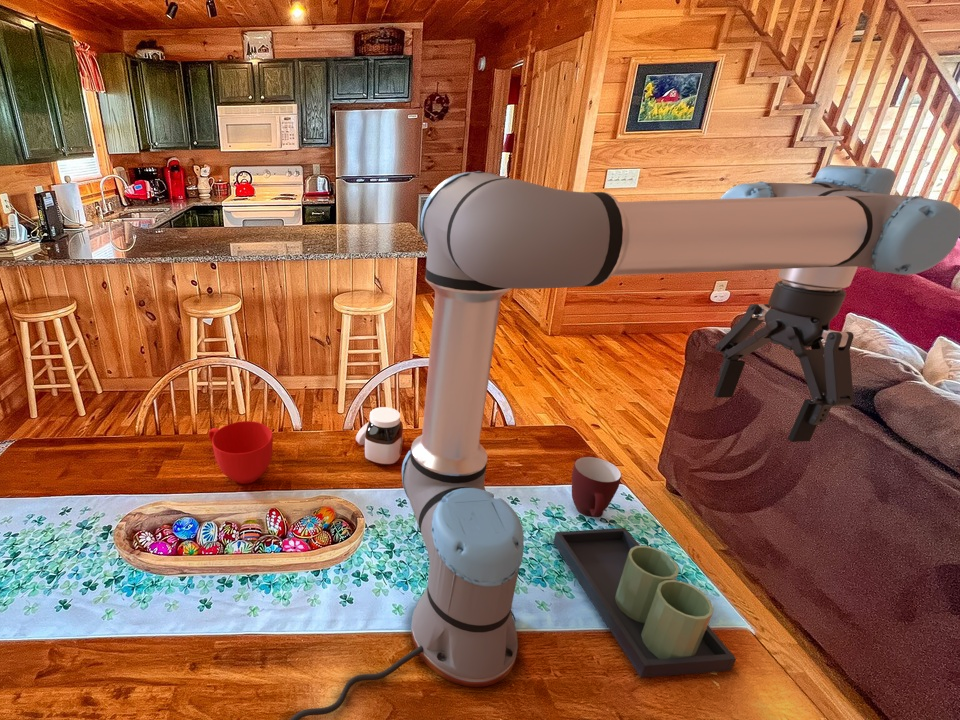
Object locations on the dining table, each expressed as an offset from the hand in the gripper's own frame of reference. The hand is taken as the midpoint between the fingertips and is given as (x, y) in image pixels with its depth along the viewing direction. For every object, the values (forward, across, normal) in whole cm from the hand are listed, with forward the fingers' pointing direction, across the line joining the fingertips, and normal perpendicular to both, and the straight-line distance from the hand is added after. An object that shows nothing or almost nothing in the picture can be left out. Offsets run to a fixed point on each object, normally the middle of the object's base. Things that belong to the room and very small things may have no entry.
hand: (757, 416), depth 80 cm
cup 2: (+28, -17, +19) cm, 38 cm away
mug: (+28, +11, +15) cm, 34 cm away
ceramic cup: (+30, +32, +84) cm, 95 cm away
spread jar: (+29, +36, +52) cm, 70 cm away
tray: (+28, -8, +19) cm, 35 cm away
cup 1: (+28, -10, +19) cm, 36 cm away
